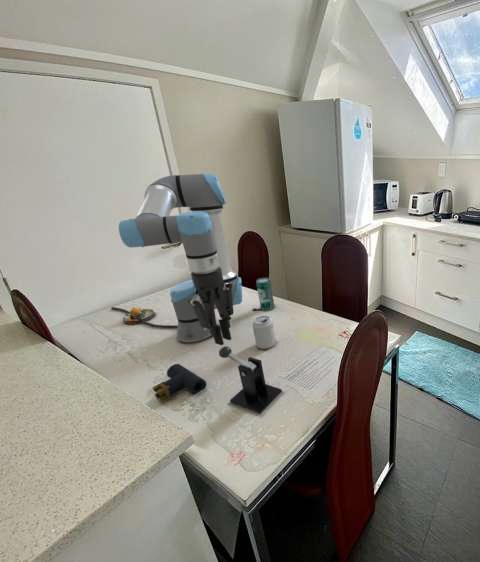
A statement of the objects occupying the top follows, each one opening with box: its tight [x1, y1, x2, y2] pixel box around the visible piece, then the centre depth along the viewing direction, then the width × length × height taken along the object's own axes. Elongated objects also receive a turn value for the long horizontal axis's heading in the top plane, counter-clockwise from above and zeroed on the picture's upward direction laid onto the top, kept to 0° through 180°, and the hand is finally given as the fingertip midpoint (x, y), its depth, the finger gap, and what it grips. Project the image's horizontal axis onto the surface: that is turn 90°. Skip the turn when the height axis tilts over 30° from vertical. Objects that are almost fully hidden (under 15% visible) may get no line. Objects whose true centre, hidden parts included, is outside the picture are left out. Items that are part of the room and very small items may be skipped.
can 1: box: [255, 277, 275, 312], centre depth 152 cm, size 6×6×15 cm
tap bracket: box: [229, 356, 283, 415], centre depth 97 cm, size 12×10×14 cm
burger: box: [122, 306, 155, 325], centre depth 146 cm, size 12×12×8 cm
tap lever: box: [218, 345, 257, 373], centre depth 96 cm, size 13×4×4 cm, turn 68°
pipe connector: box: [152, 363, 207, 403], centre depth 102 cm, size 12×5×15 cm
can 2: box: [252, 315, 277, 350], centre depth 124 cm, size 8×8×12 cm
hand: (223, 341), depth 95 cm, fingers open, 2 cm apart
